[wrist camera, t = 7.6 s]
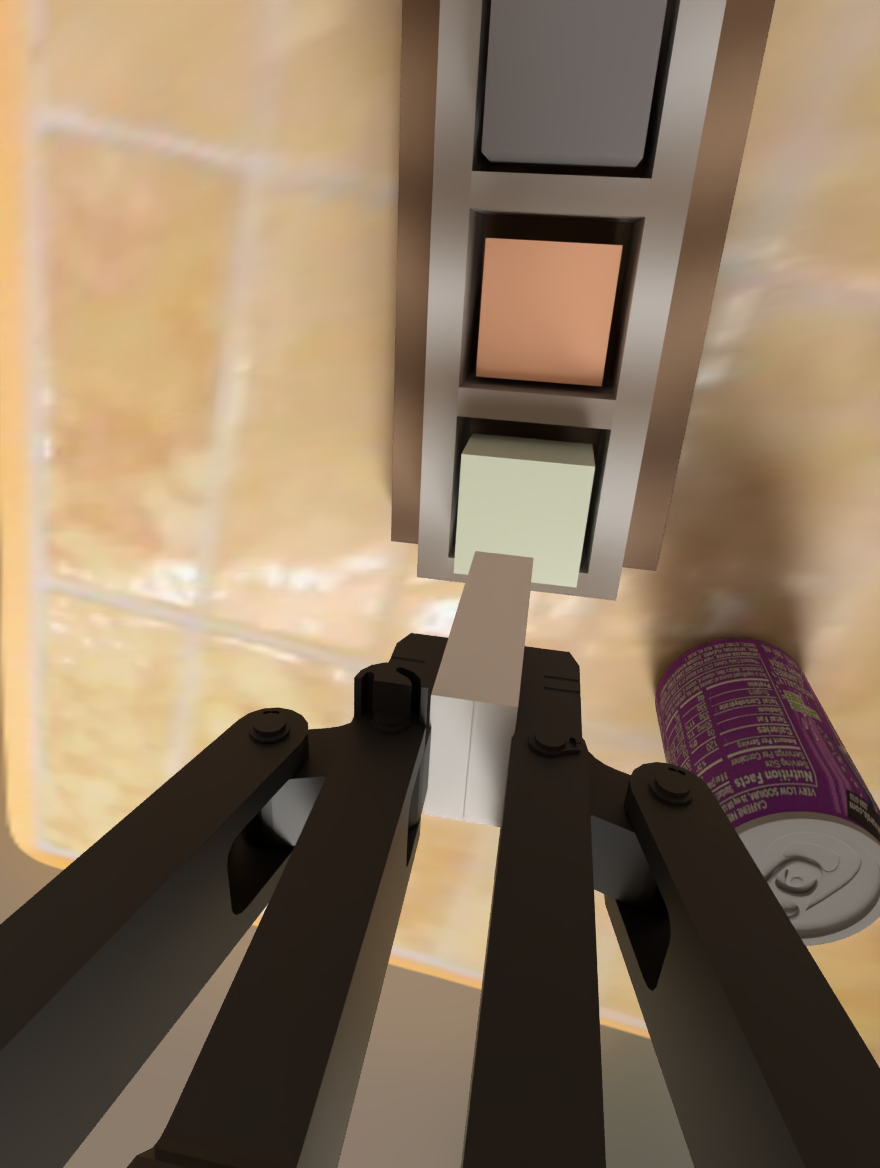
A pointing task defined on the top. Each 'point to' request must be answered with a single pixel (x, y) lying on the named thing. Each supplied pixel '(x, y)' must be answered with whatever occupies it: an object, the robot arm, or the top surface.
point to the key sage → (525, 503)
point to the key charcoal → (570, 81)
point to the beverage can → (777, 780)
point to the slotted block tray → (577, 215)
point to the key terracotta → (546, 310)
